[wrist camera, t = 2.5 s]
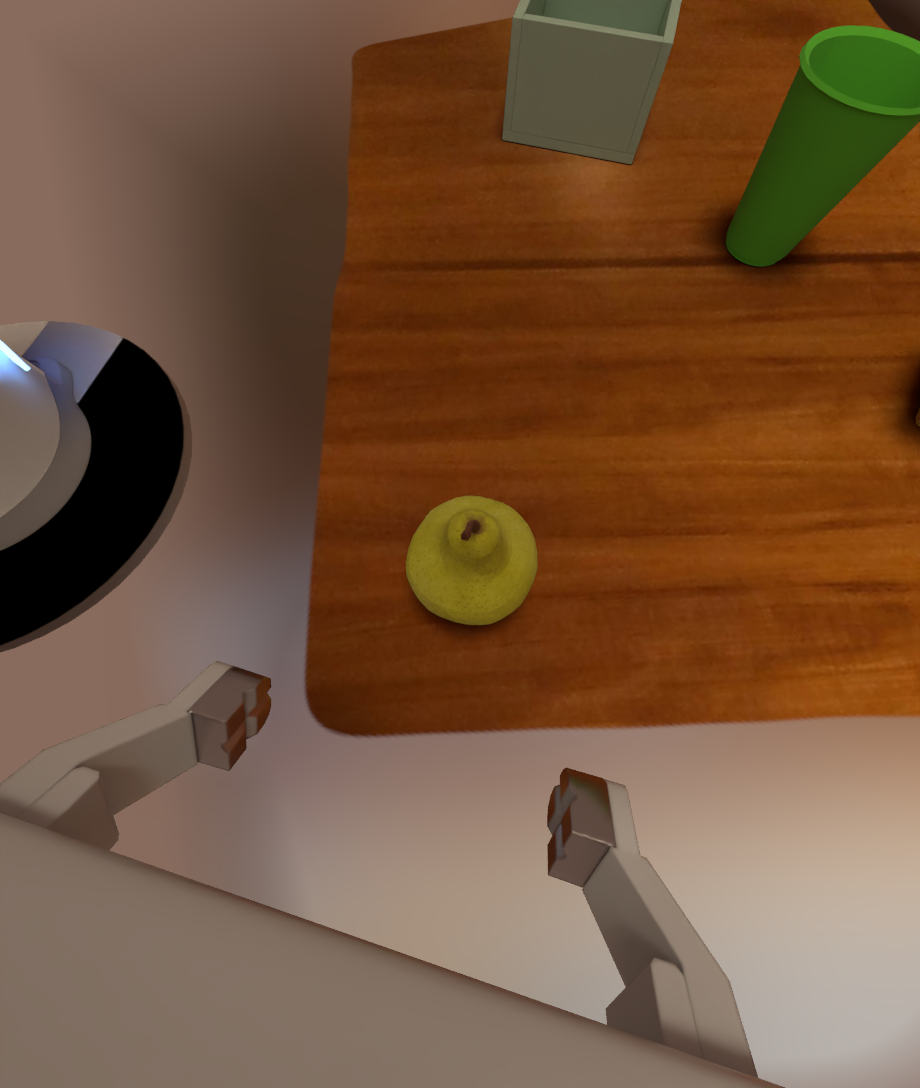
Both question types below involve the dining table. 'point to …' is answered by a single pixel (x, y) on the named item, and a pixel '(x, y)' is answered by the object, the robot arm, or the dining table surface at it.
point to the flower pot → (918, 418)
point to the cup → (827, 136)
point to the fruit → (472, 560)
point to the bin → (586, 73)
